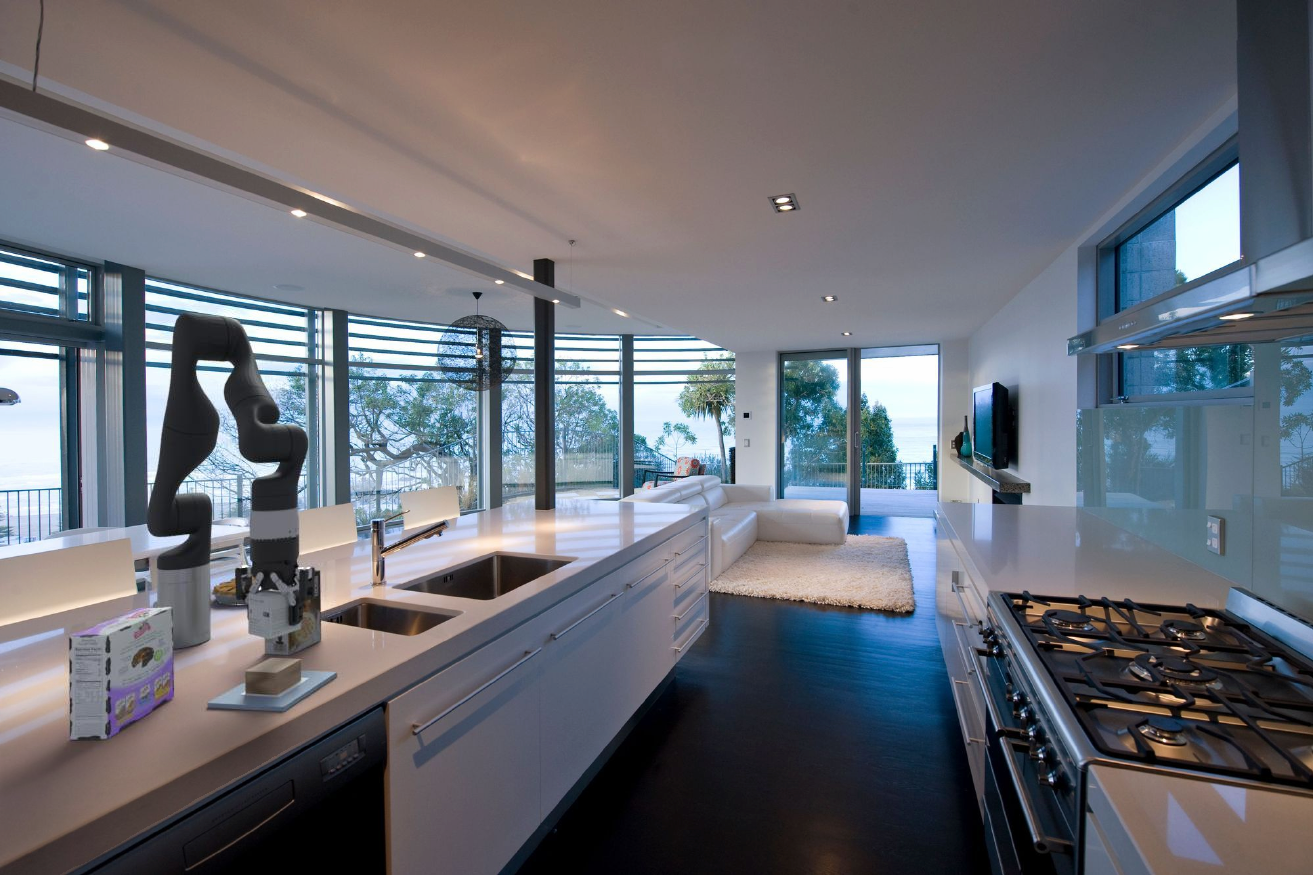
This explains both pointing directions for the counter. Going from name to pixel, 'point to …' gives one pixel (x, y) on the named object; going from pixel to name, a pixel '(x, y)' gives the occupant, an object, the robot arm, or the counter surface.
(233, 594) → the pie
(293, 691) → the board
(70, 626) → the counter surface
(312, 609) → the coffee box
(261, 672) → the walnut block
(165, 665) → the candy box
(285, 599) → the skincare box
